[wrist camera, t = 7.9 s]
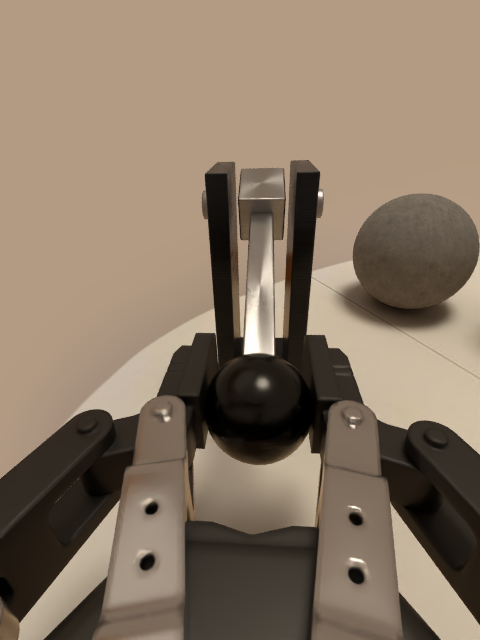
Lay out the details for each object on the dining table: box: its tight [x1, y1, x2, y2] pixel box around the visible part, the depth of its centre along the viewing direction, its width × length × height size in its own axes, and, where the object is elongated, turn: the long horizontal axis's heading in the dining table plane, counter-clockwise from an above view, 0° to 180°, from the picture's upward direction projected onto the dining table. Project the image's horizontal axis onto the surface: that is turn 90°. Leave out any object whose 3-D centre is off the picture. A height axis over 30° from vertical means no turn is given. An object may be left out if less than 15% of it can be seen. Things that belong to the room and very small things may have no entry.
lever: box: [204, 168, 313, 465], centre depth 14 cm, size 14×3×3 cm, turn 176°
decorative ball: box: [353, 194, 480, 309], centre depth 31 cm, size 10×10×10 cm
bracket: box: [202, 160, 324, 374], centre depth 20 cm, size 8×6×14 cm
